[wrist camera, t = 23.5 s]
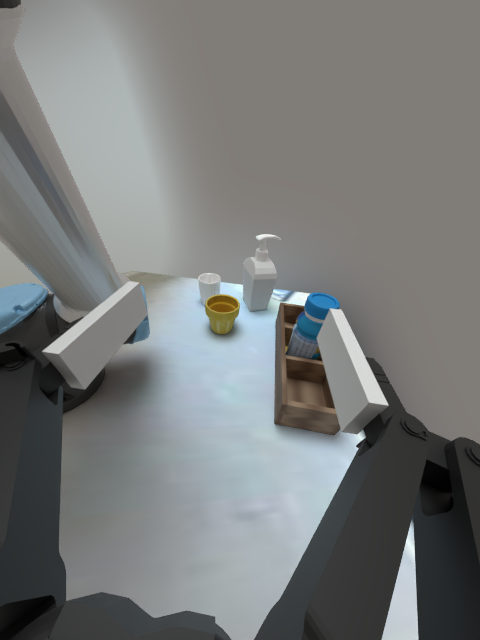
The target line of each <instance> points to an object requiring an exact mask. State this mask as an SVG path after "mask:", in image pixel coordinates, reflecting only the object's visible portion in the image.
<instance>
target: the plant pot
mask: <svg viewBox="0 0 480 640" xmlns="http://www.w3.org/2000/svg"><path fill="white" fill-rule="evenodd" d="M239 308H240V304H239V301H238V300H237V299H236V298H234V297H232V296H230V295H224V294H219V295H213V296H211V297H209V298H208V299H207V300H206V302H205V310H206V314H207V316H208V317H209V320H210V324H211V328H212V330H213V331H214V332H215V333H218V334H226V333H228V332H230V331H231V329H232V326H233V323H234V321H235V318H236V317H237V316H238V314H239Z"/></svg>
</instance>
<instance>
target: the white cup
mask: <svg viewBox="0 0 480 640" xmlns="http://www.w3.org/2000/svg"><path fill="white" fill-rule="evenodd" d="M198 280H199V290H200V296H201V302H202V304H204V305H205V302H206V300H207V299H208V298H209V297H211V296H213V295H219V294H220V280H221V278H220V276H218V275H216V274H212V273H206V274H202V275H200V276H199V277H198Z"/></svg>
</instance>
